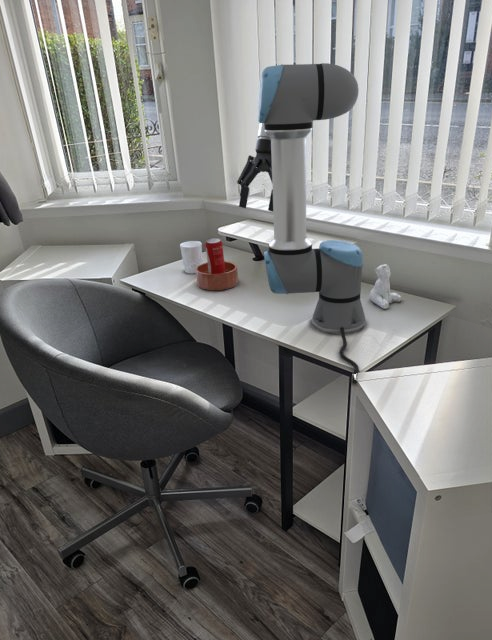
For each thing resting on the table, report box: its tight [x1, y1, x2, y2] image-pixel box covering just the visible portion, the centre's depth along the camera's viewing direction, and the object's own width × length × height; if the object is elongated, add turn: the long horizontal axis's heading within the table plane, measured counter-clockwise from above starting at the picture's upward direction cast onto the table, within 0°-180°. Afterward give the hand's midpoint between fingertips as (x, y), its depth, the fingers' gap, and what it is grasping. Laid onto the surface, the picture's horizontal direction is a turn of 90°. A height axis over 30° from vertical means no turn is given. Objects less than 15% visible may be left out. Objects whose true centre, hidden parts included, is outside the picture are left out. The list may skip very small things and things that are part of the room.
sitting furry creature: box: [369, 263, 402, 310], centre depth 166 cm, size 10×9×12 cm
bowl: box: [195, 260, 239, 292], centre depth 187 cm, size 14×14×6 cm
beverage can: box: [204, 237, 225, 274], centre depth 185 cm, size 6×6×15 cm
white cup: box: [179, 240, 204, 274], centre depth 199 cm, size 8×8×10 cm
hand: (256, 209), depth 179 cm, fingers open, 13 cm apart
